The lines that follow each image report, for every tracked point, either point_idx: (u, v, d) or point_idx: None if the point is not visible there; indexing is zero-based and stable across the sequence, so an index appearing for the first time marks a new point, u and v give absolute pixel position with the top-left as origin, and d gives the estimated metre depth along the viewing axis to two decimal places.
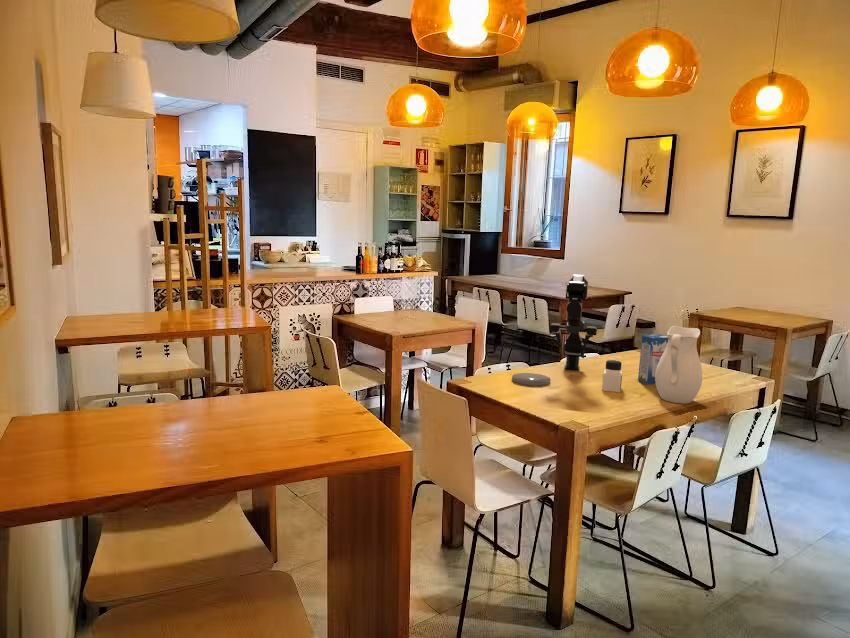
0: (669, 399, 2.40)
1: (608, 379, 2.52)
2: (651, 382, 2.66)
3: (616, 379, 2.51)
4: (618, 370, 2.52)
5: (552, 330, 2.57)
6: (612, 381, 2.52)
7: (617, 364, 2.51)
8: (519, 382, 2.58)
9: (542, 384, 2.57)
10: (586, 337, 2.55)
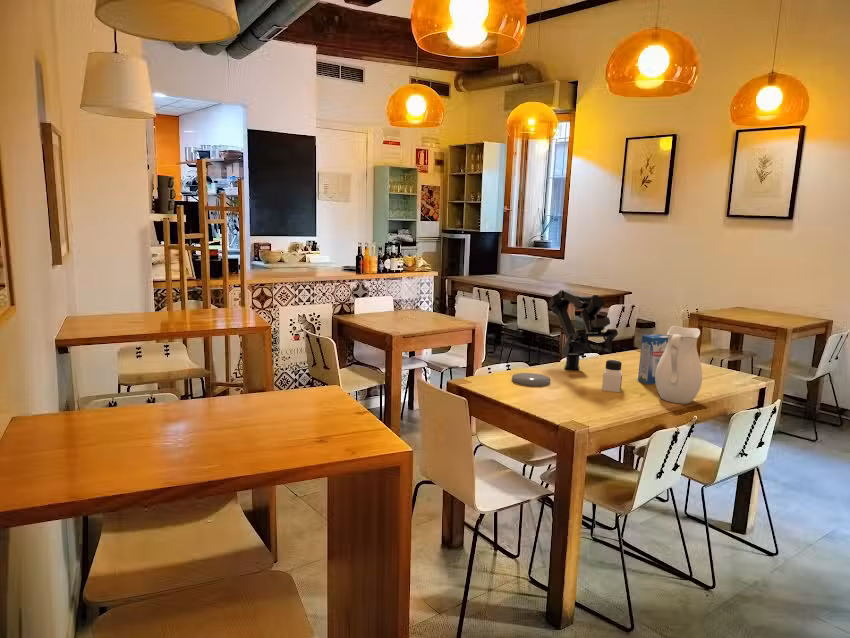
0: (669, 399, 2.40)
1: (608, 379, 2.52)
2: (651, 382, 2.66)
3: (616, 379, 2.51)
4: (618, 370, 2.52)
5: (581, 332, 2.63)
6: (612, 381, 2.52)
7: (617, 364, 2.51)
8: (519, 382, 2.58)
9: (542, 384, 2.57)
10: (610, 336, 2.66)
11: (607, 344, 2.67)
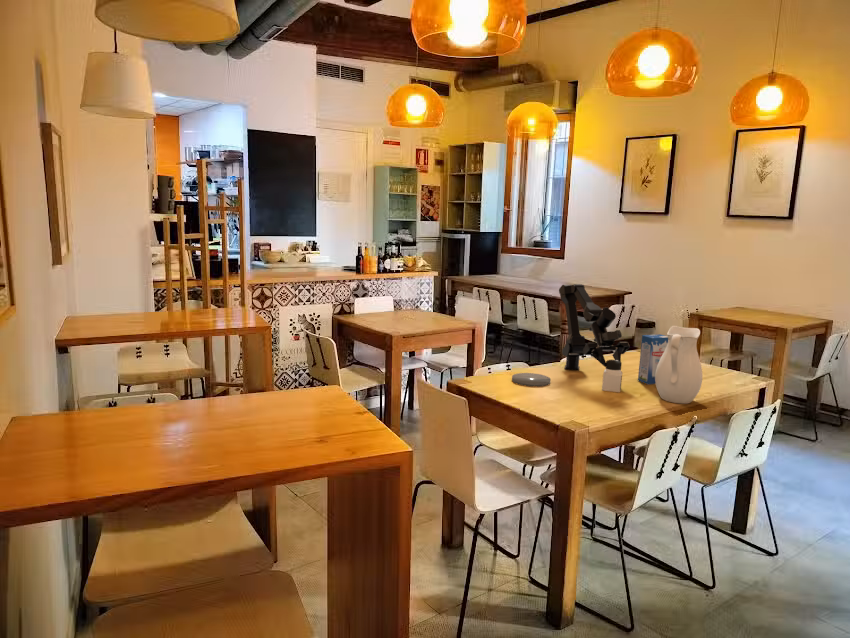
0: (669, 399, 2.40)
1: (608, 379, 2.52)
2: (651, 382, 2.66)
3: (616, 379, 2.51)
4: (618, 370, 2.52)
5: (592, 345, 2.55)
6: (612, 381, 2.52)
7: (617, 364, 2.51)
8: (519, 382, 2.58)
9: (542, 384, 2.57)
10: (619, 350, 2.58)
11: (615, 358, 2.59)
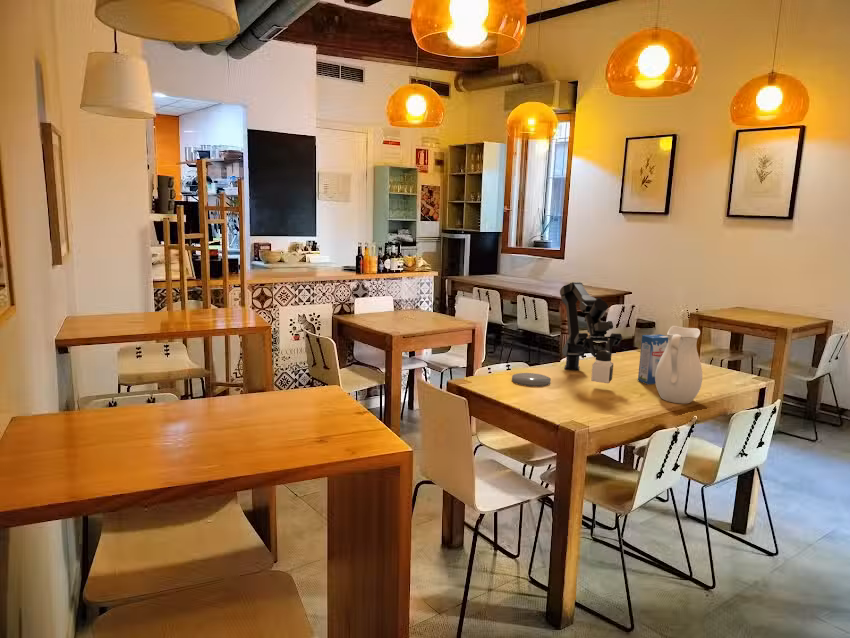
0: (669, 399, 2.40)
1: (597, 370, 2.52)
2: (651, 382, 2.66)
3: (605, 370, 2.51)
4: (607, 361, 2.51)
5: (582, 336, 2.56)
6: (601, 372, 2.52)
7: (606, 355, 2.51)
8: (519, 382, 2.58)
9: (542, 384, 2.57)
10: (610, 341, 2.57)
11: (607, 349, 2.58)
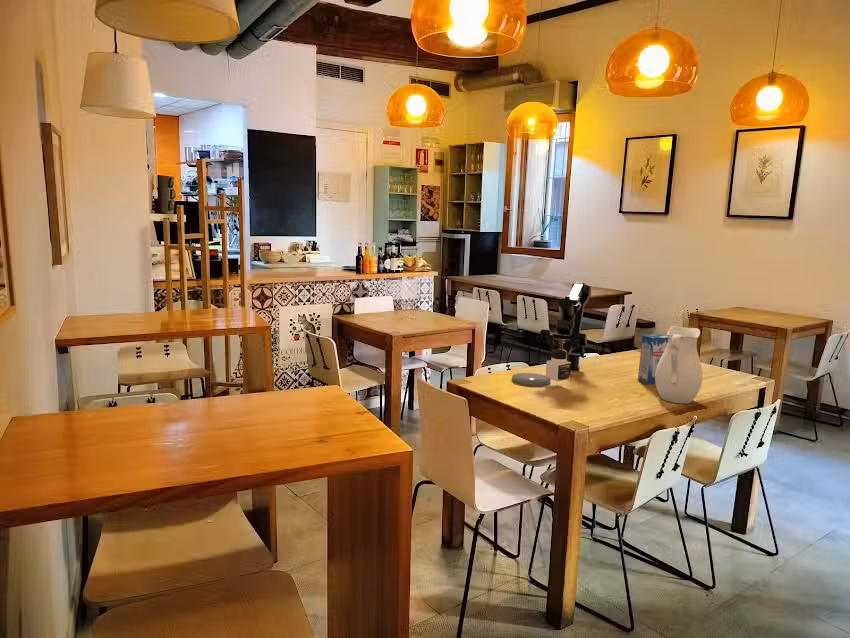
0: (669, 399, 2.40)
1: (549, 367, 2.56)
2: (651, 382, 2.66)
3: (555, 367, 2.54)
4: (558, 359, 2.53)
5: (542, 332, 2.61)
6: (552, 369, 2.55)
7: (557, 353, 2.53)
8: (519, 382, 2.58)
9: (542, 384, 2.57)
10: (571, 340, 2.56)
11: None
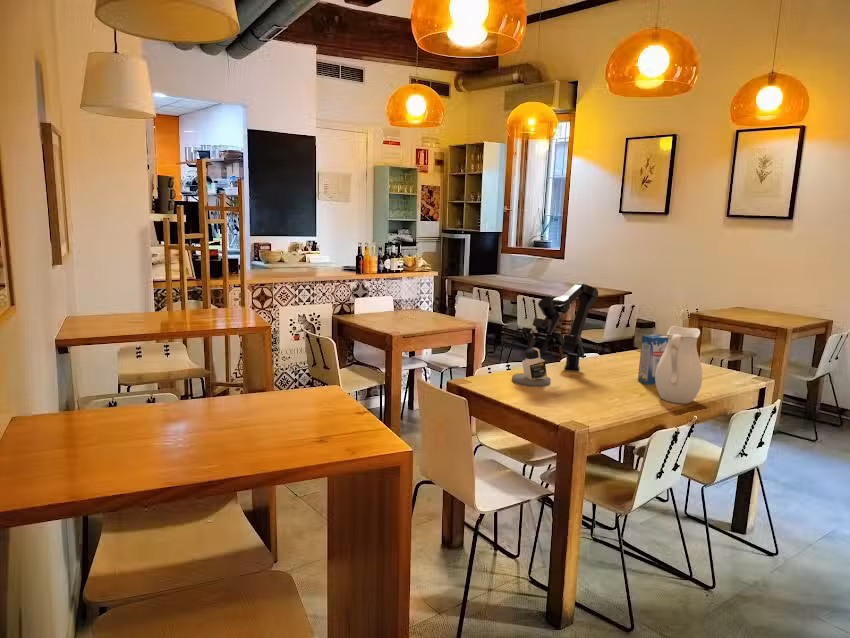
0: (669, 399, 2.40)
1: (524, 366, 2.63)
2: (651, 382, 2.66)
3: (528, 367, 2.60)
4: (530, 359, 2.59)
5: (523, 329, 2.69)
6: (526, 369, 2.61)
7: (528, 353, 2.59)
8: (519, 382, 2.58)
9: (542, 384, 2.57)
10: (546, 338, 2.61)
11: None
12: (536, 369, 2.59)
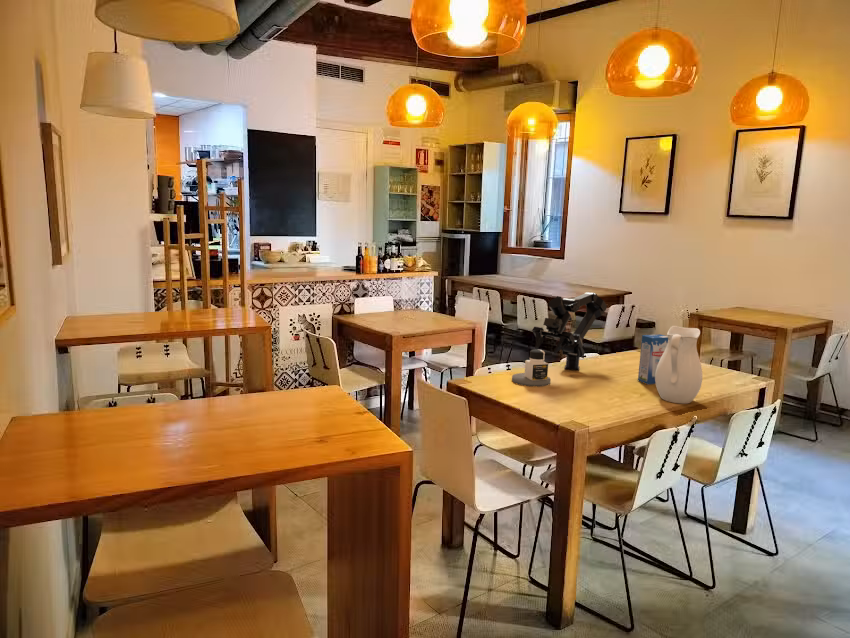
0: (669, 399, 2.40)
1: (527, 366, 2.63)
2: (651, 382, 2.66)
3: (530, 367, 2.60)
4: (534, 359, 2.59)
5: (534, 329, 2.76)
6: (528, 368, 2.61)
7: (533, 353, 2.59)
8: (519, 382, 2.58)
9: (542, 384, 2.57)
10: (560, 338, 2.66)
11: None
12: (538, 370, 2.59)
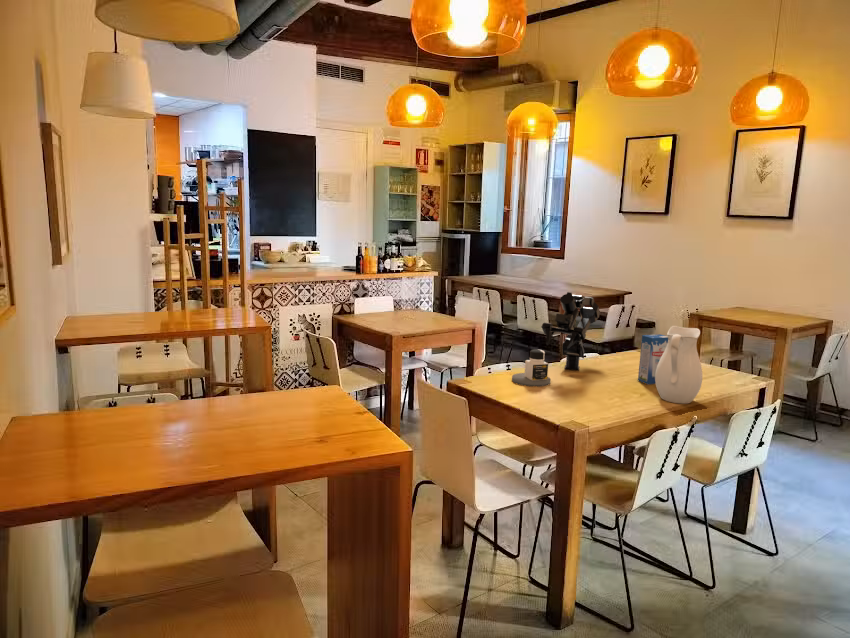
0: (669, 399, 2.40)
1: (527, 366, 2.63)
2: (651, 382, 2.66)
3: (530, 367, 2.60)
4: (534, 359, 2.59)
5: (544, 325, 2.76)
6: (528, 368, 2.61)
7: (533, 353, 2.59)
8: (519, 382, 2.58)
9: (542, 384, 2.57)
10: (572, 334, 2.68)
11: None
12: (538, 370, 2.59)
